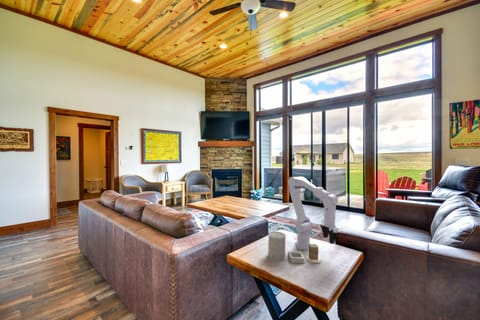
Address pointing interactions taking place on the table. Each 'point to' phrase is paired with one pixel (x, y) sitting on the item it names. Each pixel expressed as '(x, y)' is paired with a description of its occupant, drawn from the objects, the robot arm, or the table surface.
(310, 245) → the walnut block
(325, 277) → the table surface
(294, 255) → the pocket
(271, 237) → the grey cylinder
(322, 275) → the table surface
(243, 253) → the table surface
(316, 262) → the coaster
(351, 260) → the table surface
